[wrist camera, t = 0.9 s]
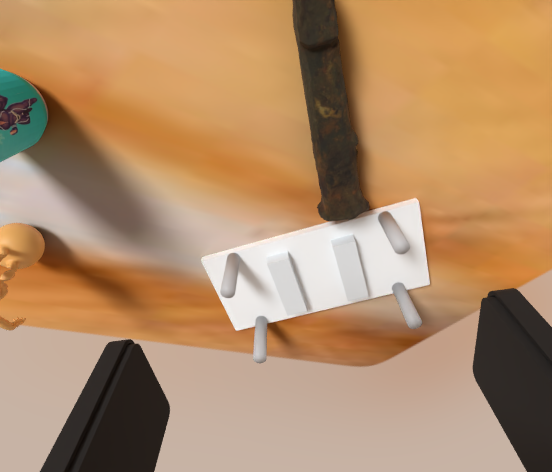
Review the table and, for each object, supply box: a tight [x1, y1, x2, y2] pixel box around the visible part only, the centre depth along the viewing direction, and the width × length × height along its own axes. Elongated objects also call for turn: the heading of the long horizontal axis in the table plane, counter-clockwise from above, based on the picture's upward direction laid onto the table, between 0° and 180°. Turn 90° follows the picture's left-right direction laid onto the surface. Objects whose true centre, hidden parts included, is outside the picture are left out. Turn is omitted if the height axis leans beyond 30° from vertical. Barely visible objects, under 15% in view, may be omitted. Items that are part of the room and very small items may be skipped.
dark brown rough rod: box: [293, 0, 370, 221], centre depth 26 cm, size 19×4×5 cm, turn 11°
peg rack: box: [201, 198, 430, 363], centre depth 33 cm, size 20×9×6 cm, turn 108°
